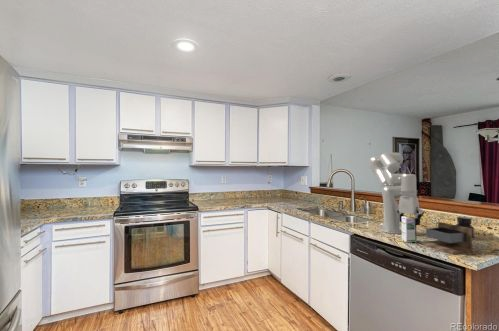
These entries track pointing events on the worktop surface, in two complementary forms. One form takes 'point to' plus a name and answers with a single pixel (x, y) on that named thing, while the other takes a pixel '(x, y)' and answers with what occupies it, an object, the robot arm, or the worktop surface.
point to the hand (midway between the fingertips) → (409, 223)
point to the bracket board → (452, 247)
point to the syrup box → (409, 229)
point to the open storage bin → (446, 234)
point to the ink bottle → (465, 223)
